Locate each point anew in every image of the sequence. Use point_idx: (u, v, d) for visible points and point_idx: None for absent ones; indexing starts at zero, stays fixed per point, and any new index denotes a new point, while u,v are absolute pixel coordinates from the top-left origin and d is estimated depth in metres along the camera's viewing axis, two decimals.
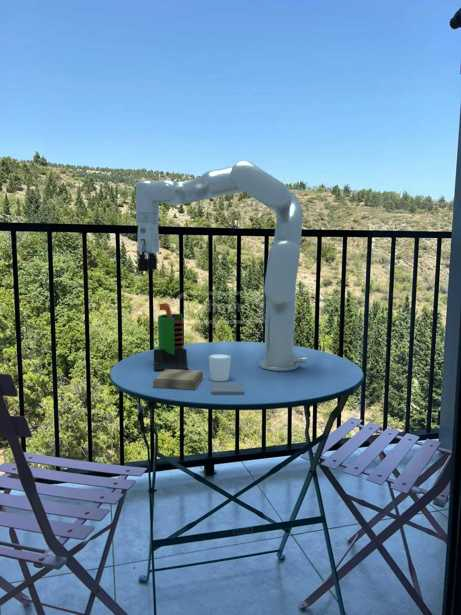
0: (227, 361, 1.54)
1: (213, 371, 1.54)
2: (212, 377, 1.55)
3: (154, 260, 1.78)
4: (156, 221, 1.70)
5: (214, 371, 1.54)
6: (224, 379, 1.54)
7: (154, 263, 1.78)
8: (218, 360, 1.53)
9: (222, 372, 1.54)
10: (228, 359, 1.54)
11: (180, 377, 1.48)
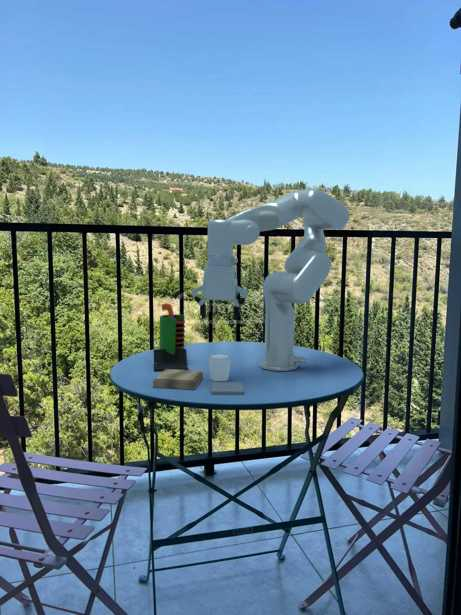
0: (227, 361, 1.54)
1: (213, 371, 1.54)
2: (212, 377, 1.55)
3: (205, 307, 1.56)
4: None
5: (214, 371, 1.54)
6: (224, 379, 1.54)
7: (205, 310, 1.56)
8: (218, 360, 1.53)
9: (222, 372, 1.54)
10: (228, 359, 1.54)
11: (180, 377, 1.48)
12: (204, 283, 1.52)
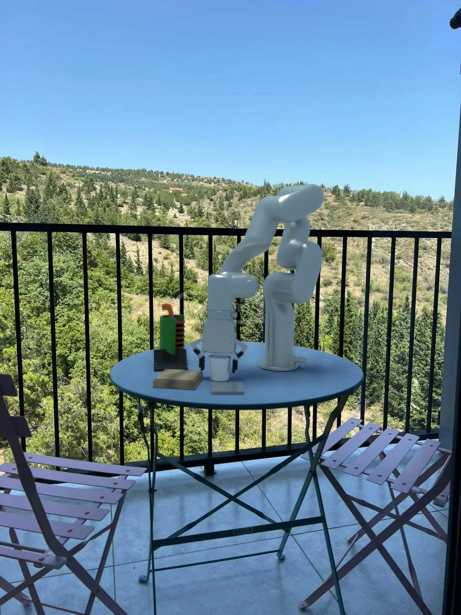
0: (227, 361, 1.54)
1: (213, 371, 1.54)
2: (212, 377, 1.55)
3: (204, 359, 1.57)
4: None
5: (214, 371, 1.54)
6: (224, 379, 1.54)
7: (204, 362, 1.58)
8: (218, 360, 1.53)
9: (222, 372, 1.54)
10: (228, 359, 1.54)
11: (180, 377, 1.48)
12: (203, 336, 1.53)
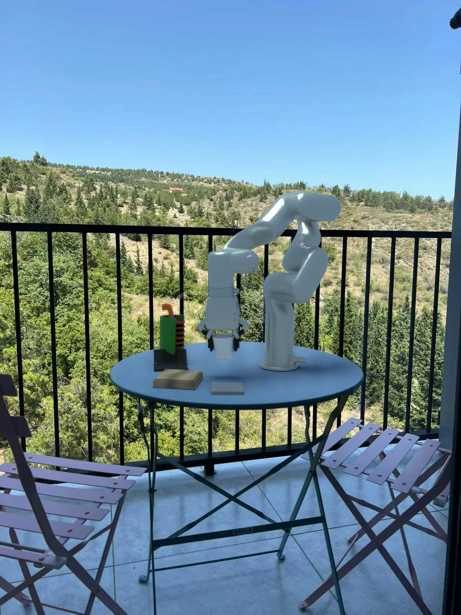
0: (231, 339, 1.54)
1: (218, 350, 1.55)
2: (217, 356, 1.55)
3: None
4: None
5: (219, 350, 1.54)
6: (229, 358, 1.55)
7: None
8: (222, 339, 1.53)
9: (227, 351, 1.54)
10: (232, 338, 1.54)
11: (180, 377, 1.48)
12: (207, 314, 1.53)
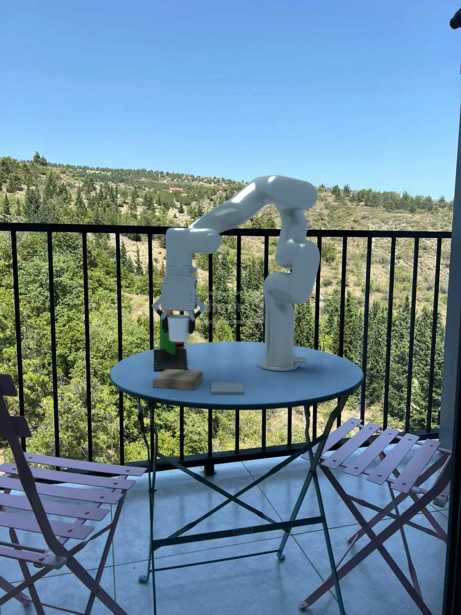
0: (186, 320, 1.47)
1: (172, 331, 1.47)
2: (171, 338, 1.48)
3: None
4: None
5: (173, 331, 1.47)
6: (183, 340, 1.48)
7: None
8: (176, 320, 1.46)
9: (181, 332, 1.47)
10: (187, 319, 1.47)
11: (180, 377, 1.48)
12: (162, 293, 1.46)
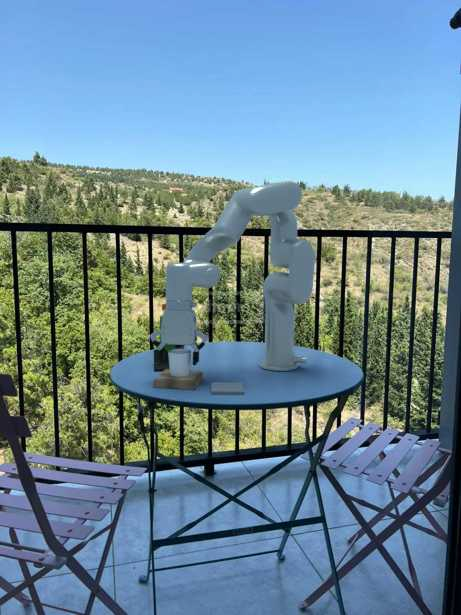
0: (186, 355, 1.48)
1: (172, 366, 1.49)
2: (171, 372, 1.50)
3: (165, 351, 1.52)
4: None
5: (173, 366, 1.49)
6: (184, 374, 1.49)
7: (165, 355, 1.52)
8: (177, 355, 1.48)
9: (181, 367, 1.48)
10: (188, 354, 1.49)
11: (180, 377, 1.48)
12: (162, 328, 1.48)
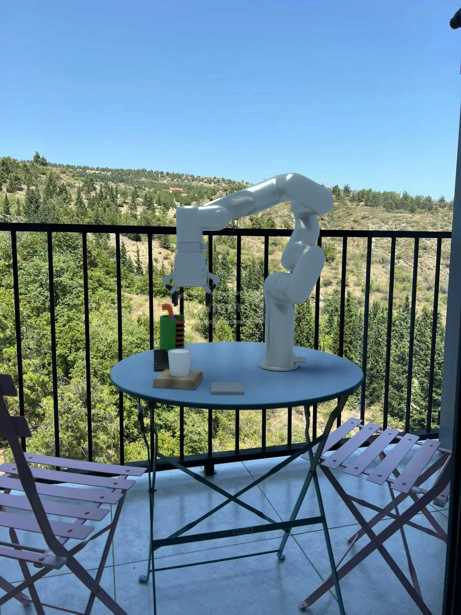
0: (186, 355, 1.48)
1: (172, 366, 1.49)
2: (171, 372, 1.50)
3: (177, 295, 1.55)
4: None
5: (173, 366, 1.49)
6: (184, 374, 1.49)
7: (177, 298, 1.55)
8: (177, 355, 1.48)
9: (181, 367, 1.48)
10: (188, 354, 1.49)
11: (180, 377, 1.48)
12: (174, 270, 1.51)
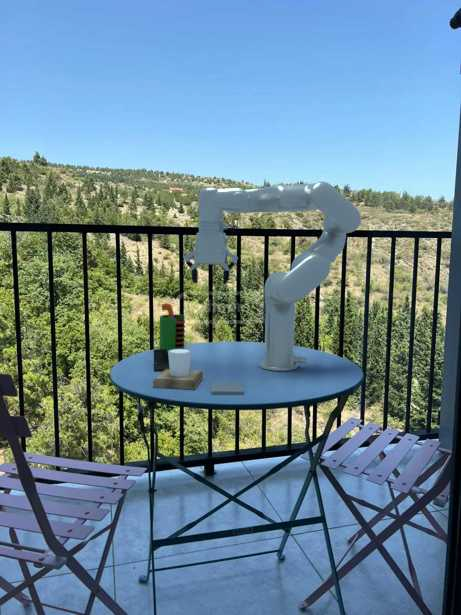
0: (186, 355, 1.48)
1: (172, 366, 1.49)
2: (171, 372, 1.50)
3: (197, 272, 1.65)
4: None
5: (173, 366, 1.49)
6: (184, 374, 1.49)
7: (197, 275, 1.65)
8: (177, 355, 1.48)
9: (181, 367, 1.48)
10: (188, 354, 1.49)
11: (180, 377, 1.48)
12: (196, 248, 1.61)
